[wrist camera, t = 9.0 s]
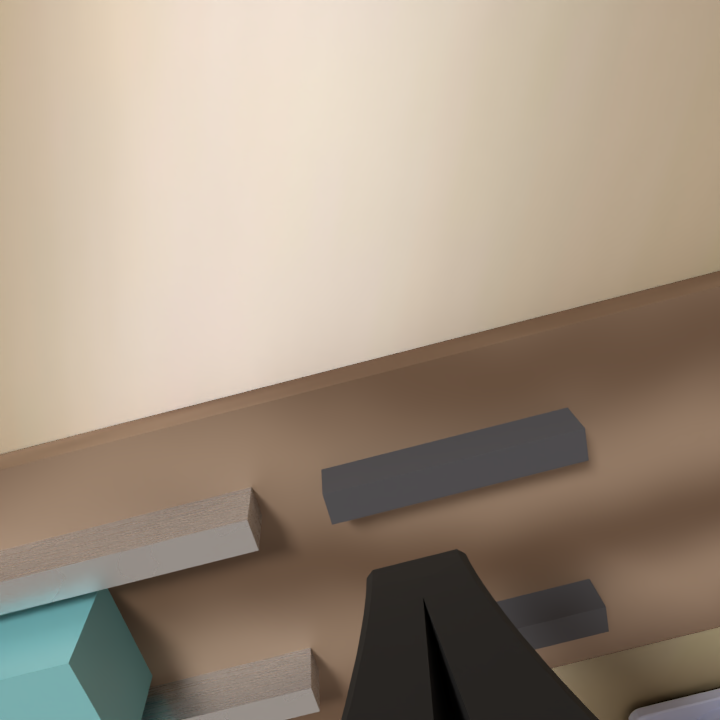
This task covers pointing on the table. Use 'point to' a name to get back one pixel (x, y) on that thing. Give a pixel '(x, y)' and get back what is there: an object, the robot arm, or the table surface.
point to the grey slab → (157, 557)
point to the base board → (430, 518)
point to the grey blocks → (471, 471)
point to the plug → (71, 662)
